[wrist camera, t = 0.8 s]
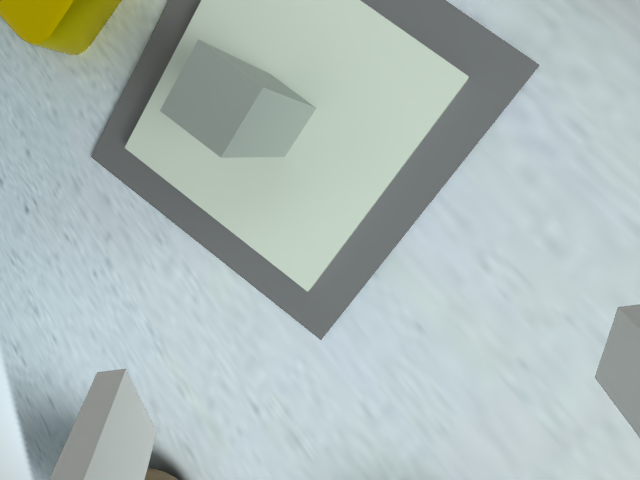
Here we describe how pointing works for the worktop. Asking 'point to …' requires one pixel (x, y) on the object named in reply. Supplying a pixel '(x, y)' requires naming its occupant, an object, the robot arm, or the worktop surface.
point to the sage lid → (291, 120)
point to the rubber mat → (395, 202)
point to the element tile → (58, 22)
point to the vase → (158, 475)
